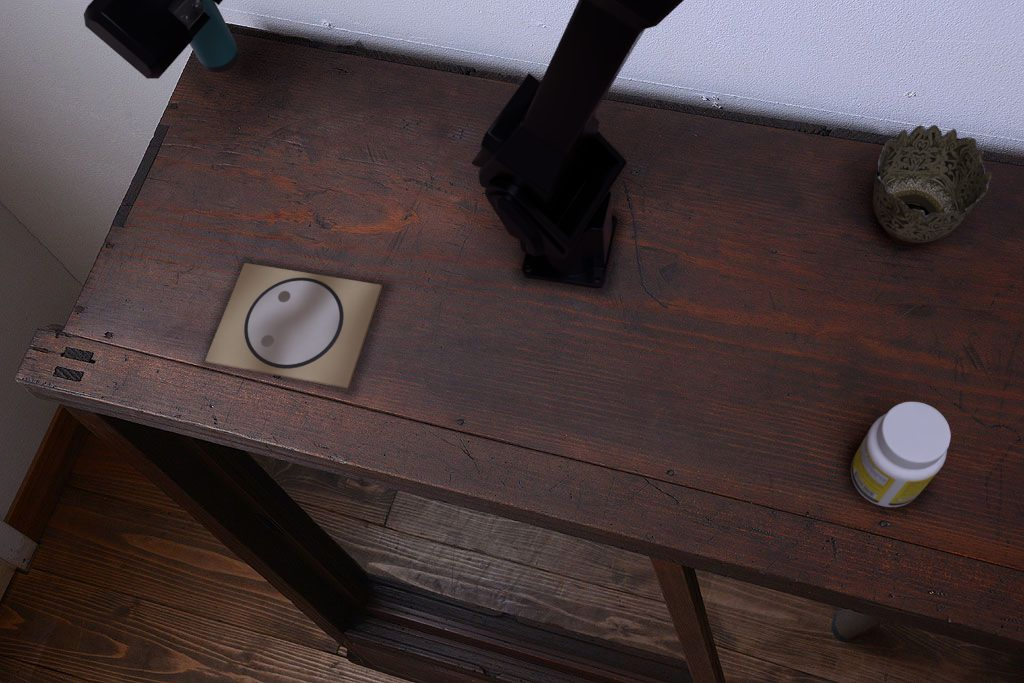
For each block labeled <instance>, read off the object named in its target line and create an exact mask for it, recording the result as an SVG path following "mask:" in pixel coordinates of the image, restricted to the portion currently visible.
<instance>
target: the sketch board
mask: <svg viewBox="0 0 1024 683" xmlns="http://www.w3.org/2000/svg"><path fill="white" fill-rule="evenodd" d="M382 290H383V285H382V284H379V283H372V282H366V281H360V280H354V279H347V278H341V277H335V276H329V275H323V274H317V273H311V272H310V273H309V272H304V271H297V270H292V269H286V268H279V267H274V266H267V265H261V264H255V263H248V262H244V263H243V266H242V268H241V271H240V273H239V275H238V278H237V280H236V282H235V285H234V288H233V290H232V292H231V295H230V298H229V300H228V303H227V305H226V307H225V310H224V312H223V314H222V318H221V319H220V322H219V324H218V328H217V330H216V332H215V335H214V338H213V340H212V342H211V344H210V347H209V350H208V352H207V355H206V357H205V360H204V361H205V363H207V364H212V365H217V366H222V367H228V368H234V369H238V370H244V371H250V372H254V373H255V372H256V373H260V374H266V375H272V376H276V377H283V378H287V379H293V380H298V381H303V382H310V383H313V384H314V383H315V384H320V385H326V386H330V387H336V388H341V389H346V390H350V387H351V384H352V381H353V378H354V376H355V372H356V369H357V367H358V366H357V365H358V364H359V360H360V357H361V354H362V351H363V348H364V345H365V342H366V340H367V335H368V334H369V329H370V327H371V324H372V322H373V318H374V315H375V312H376V309H377V306H378V303H379V300H380V297H381V295H382V294H381V293H382Z"/></svg>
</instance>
